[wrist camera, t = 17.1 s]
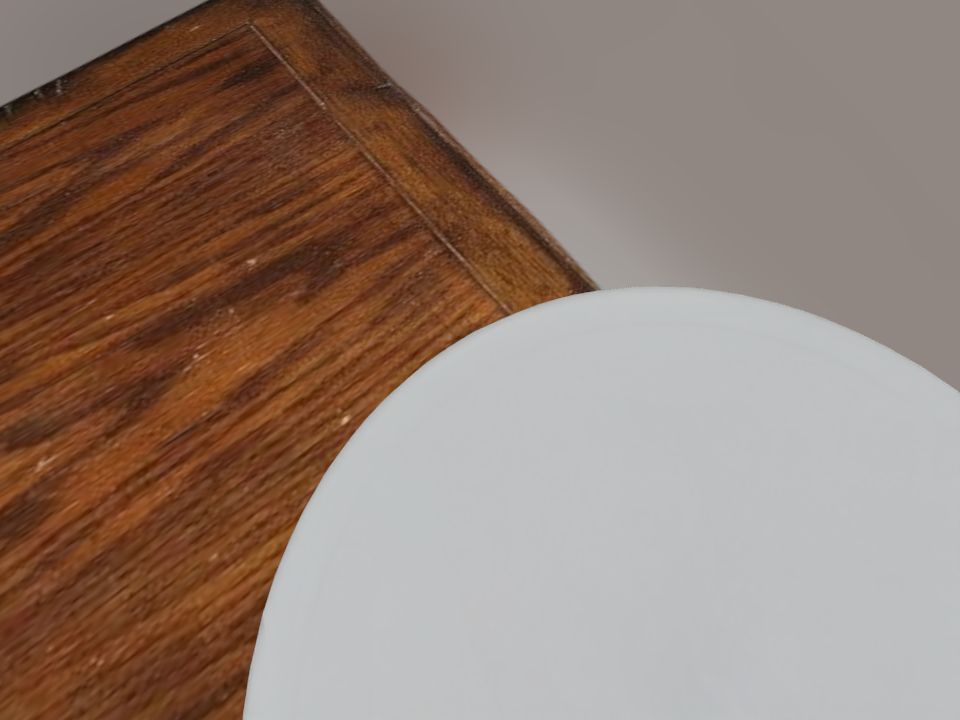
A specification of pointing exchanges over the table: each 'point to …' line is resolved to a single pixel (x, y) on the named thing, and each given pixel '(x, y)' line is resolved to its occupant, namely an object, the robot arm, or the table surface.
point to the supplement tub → (632, 528)
